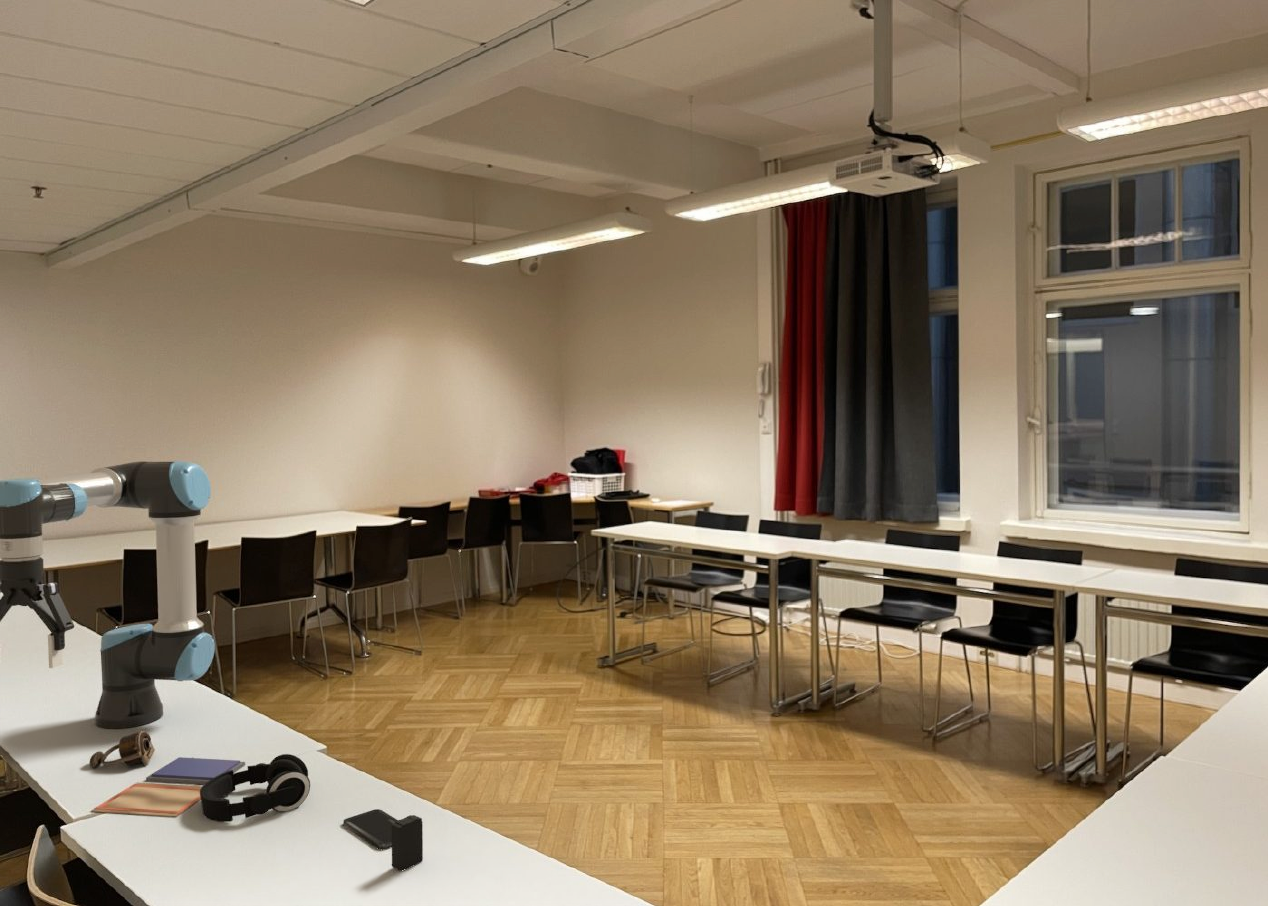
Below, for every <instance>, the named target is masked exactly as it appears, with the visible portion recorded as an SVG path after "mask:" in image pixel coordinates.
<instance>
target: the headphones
mask: <svg viewBox="0 0 1268 906" xmlns="http://www.w3.org/2000/svg"><path fill="white" fill-rule="evenodd" d="M266 782H267V785H266V786H267V787H266V789H265V792H262V791H261V792H258V793H255V794H254V795H251V796H245V797H242V801H239V802H234V803H233V802H232V803H230V799H229V798H228V799H227V798H223V797H224V796H226V795H228V794H230V793H232V792H235V791H236V786H239V785H242V784H244V783H249V786H252V785H256V784H264V783H266ZM201 786H202V788H201V789H200V797H201V800H200V803H201V809H202V814H203V817H204V818H206V819H207V820H209V821H213V822H221V823H224V822H227V823H228V822H229V823H231V822H232V821H233V820H234V819H233V817H239V816H243V815H244V816H245V819H247V818H250V817H253V816H258V815H259V816H260V815H265V814H266V813H268V812H269V811H270V810H273V811H274V812H277V813H286V812H290V811H293V810H295V809H297V808H299V807H300V806H301V805H302V804H303V803H304V802H305V801H306V799H307V797H308V796H309V793H310V791H311V781H310V779H309V770H308V767H307V765H306V764H305V762H304V761H303V760H302V759H301V758H300V757H297V756H296V755H293V754H289V753H284V754H280V755H277V756H276V757H274V758H273V759H272V760H271V762H270V763H263V762H262V763H261V762H260V763H257V764H254V765H248V766H247V769H246V770H242V771H237V772H235V773H233V770H230V771H227V772H225V773H222V774H220V775H218V776H216V777H214V778H213V779H211V780H209V781H208V782H207V783H205V784H202V785H201Z"/></svg>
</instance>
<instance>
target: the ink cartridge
mask: <svg viewBox="0 0 1268 906" xmlns="http://www.w3.org/2000/svg"><path fill="white" fill-rule="evenodd" d="M397 820H398V821H396V822H395V823H393V824H392V825H391V831H392V847H391V867H392V868H394V869H396V870H398V871H399V872H403V871H402V870H404V869H406V870H408V869H409V867H410V868H412V867H413V865H414V866H416V865H418V864H420V863H422V862H423V859H424V857H423V855H424V853H423V850H424V847H423V845H424V844H423V843H424V842H423V840H424V838H423V836H424V835H423V834H424V833H423V818H422V817H419V816H417V815H416V814H413V815H412V814H411V815H407V816H406V817H404V818H402V819H401V818H400V819H397ZM411 866H412V867H411ZM407 868H408V869H407ZM404 871H405V870H404Z"/></svg>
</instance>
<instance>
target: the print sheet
mask: <svg viewBox="0 0 1268 906" xmlns="http://www.w3.org/2000/svg"><path fill="white" fill-rule="evenodd" d="M202 786H203V785H189V784H187V785H184V784H174V783H173V784H171V783H151V782H135V783H133V784H131V785H130V786H129V787H126V788H125V789H124V790H122V791H120V792H118V793H117V794H116V795H114V796H112V797H111V798H109V799H107V800H105V801H104V802H103V803H101V804H99V805H98V806H96V807H94V808H93V809H91V810H90V812H91V813H103V814H121V815H132V816H133V815H136V816H147V817H149V816H150V817H151V816H152V817H166V818H177V817H179V816H181V815H182V814H183V813H185V812H186V811H187V810H188V809H190V808H191V807H193V806H194V805H195V804H197V803H198V802H201V797H200V789H201V788H202Z"/></svg>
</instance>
